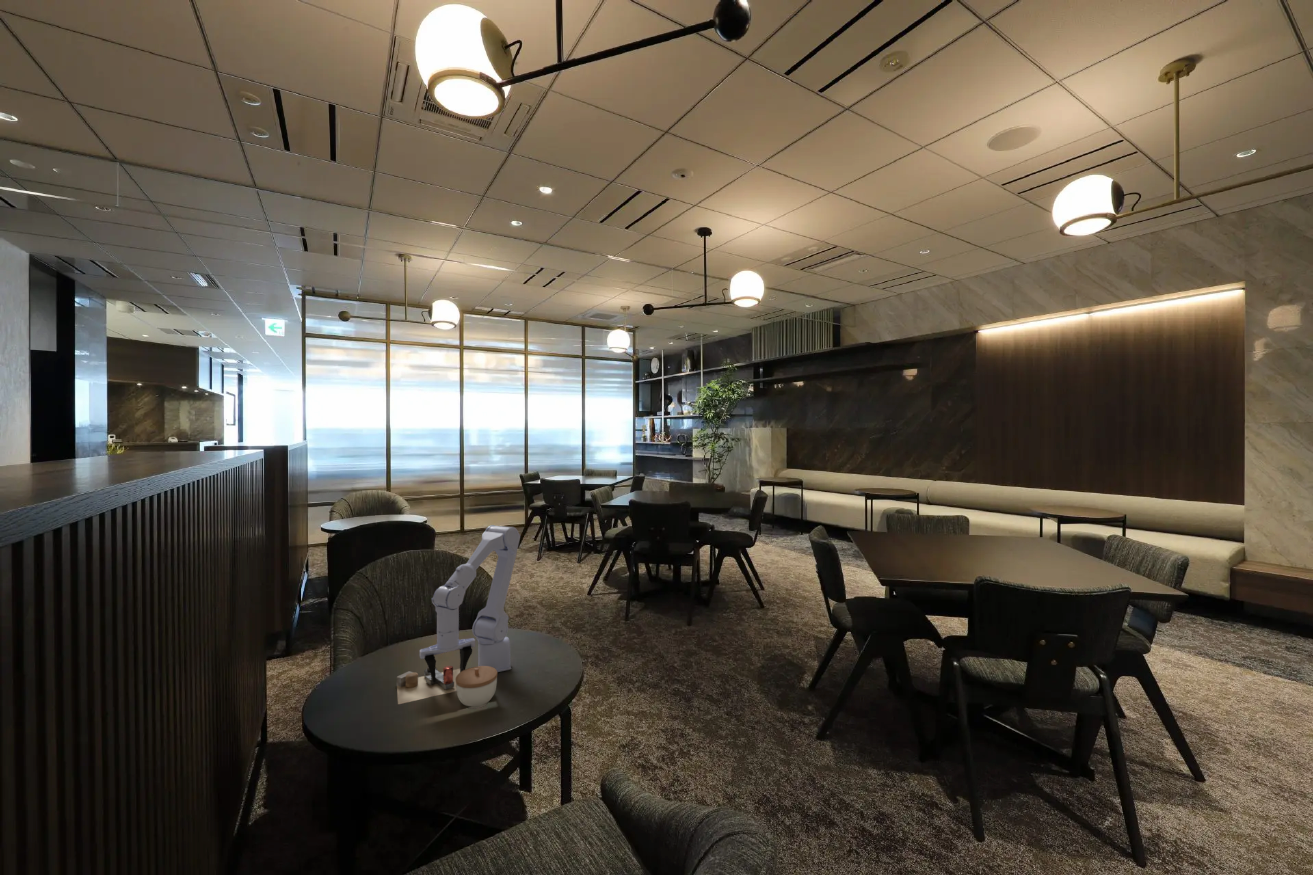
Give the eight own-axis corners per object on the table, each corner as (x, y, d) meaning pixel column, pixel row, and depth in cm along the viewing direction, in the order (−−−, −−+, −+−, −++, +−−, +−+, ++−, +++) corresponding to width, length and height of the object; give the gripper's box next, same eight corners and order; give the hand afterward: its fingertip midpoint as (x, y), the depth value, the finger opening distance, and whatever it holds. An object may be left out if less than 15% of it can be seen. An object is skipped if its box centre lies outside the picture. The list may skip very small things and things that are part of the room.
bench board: (462, 671, 156) (462, 658, 156) (469, 692, 144) (469, 678, 144) (396, 685, 147) (396, 672, 147) (397, 708, 135) (397, 693, 135)
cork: (417, 681, 147) (417, 671, 147) (418, 686, 145) (418, 675, 145) (405, 684, 146) (405, 673, 146) (405, 689, 143) (405, 678, 143)
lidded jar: (473, 718, 131) (473, 681, 131) (447, 706, 136) (447, 671, 136) (506, 699, 140) (505, 665, 140) (480, 689, 145) (479, 656, 145)
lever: (433, 671, 153) (433, 652, 153) (456, 686, 144) (456, 667, 144) (418, 676, 150) (418, 658, 150) (440, 692, 141) (440, 672, 141)
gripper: (470, 619, 151) (470, 665, 151) (417, 630, 143) (417, 678, 143) (477, 626, 145) (477, 674, 145) (422, 638, 137) (422, 688, 137)
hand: (448, 677), depth 143 cm, fingers open, 7 cm apart
